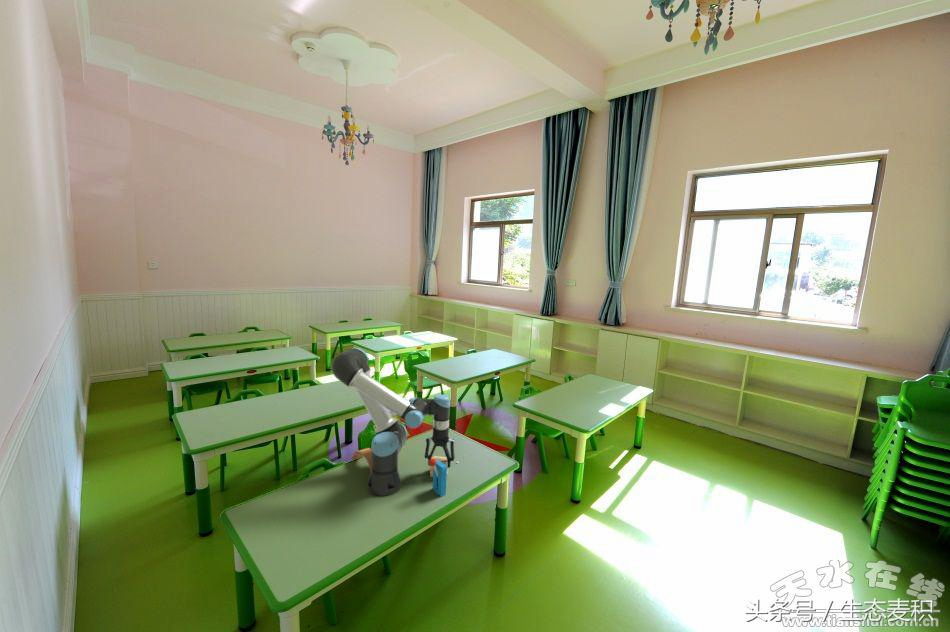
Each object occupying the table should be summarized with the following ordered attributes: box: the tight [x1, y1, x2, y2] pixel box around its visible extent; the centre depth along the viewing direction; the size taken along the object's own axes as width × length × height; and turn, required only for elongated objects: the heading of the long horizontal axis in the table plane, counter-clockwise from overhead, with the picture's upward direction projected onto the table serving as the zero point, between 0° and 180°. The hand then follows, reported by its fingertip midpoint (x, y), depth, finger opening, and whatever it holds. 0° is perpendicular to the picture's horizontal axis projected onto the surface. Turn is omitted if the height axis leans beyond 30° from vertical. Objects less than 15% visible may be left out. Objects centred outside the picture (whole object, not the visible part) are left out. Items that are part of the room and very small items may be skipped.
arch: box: [351, 447, 372, 472], centre depth 190 cm, size 6×20×10 cm, turn 46°
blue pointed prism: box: [429, 457, 448, 497], centre depth 171 cm, size 7×7×18 cm
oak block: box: [429, 455, 447, 478], centre depth 187 cm, size 7×7×7 cm
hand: (438, 472), depth 188 cm, fingers closed on oak block, 7 cm apart
